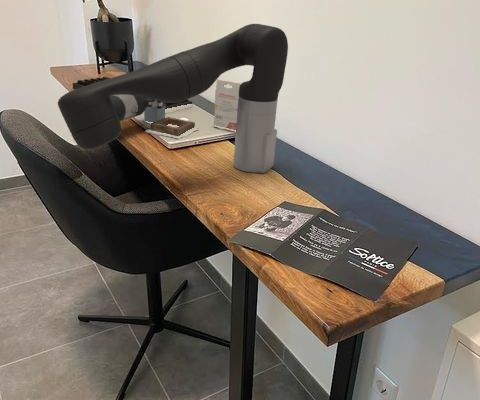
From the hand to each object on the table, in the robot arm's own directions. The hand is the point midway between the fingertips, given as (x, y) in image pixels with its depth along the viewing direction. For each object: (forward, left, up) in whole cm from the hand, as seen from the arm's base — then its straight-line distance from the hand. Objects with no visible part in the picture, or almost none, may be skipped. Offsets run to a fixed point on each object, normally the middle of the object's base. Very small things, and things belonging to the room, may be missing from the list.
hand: (159, 94), depth 149 cm
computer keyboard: (+24, -18, -9) cm, 32 cm away
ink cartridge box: (-21, -6, -8) cm, 23 cm away
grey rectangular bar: (0, +3, -8) cm, 8 cm away
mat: (-9, +7, -8) cm, 14 cm away
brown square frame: (-9, +7, -8) cm, 14 cm away
